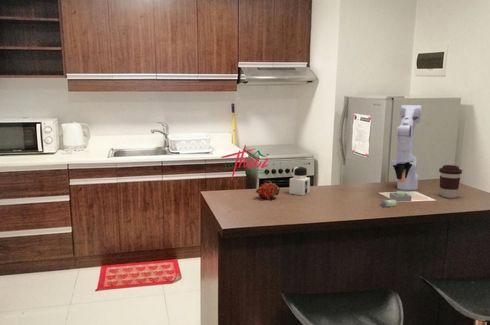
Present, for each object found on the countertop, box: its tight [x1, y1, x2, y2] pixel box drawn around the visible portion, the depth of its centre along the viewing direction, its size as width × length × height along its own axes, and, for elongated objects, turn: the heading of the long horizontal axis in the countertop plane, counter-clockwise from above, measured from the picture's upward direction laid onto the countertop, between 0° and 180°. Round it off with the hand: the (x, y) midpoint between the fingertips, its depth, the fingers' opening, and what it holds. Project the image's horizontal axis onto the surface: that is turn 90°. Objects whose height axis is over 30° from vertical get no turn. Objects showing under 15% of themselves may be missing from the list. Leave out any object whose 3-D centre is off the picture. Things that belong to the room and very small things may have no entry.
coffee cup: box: [438, 164, 463, 199], centre depth 208 cm, size 10×10×15 cm
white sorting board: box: [379, 190, 437, 203], centre depth 205 cm, size 20×18×3 cm
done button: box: [395, 190, 406, 196], centre depth 199 cm, size 4×4×3 cm
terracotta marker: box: [397, 169, 406, 183], centre depth 205 cm, size 3×3×6 cm
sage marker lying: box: [379, 199, 398, 209], centre depth 189 cm, size 6×3×3 cm, turn 99°
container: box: [288, 166, 311, 196], centre depth 213 cm, size 8×8×13 cm
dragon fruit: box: [255, 181, 281, 200], centre depth 203 cm, size 8×8×12 cm
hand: (401, 178), depth 205 cm, fingers closed on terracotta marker, 3 cm apart
